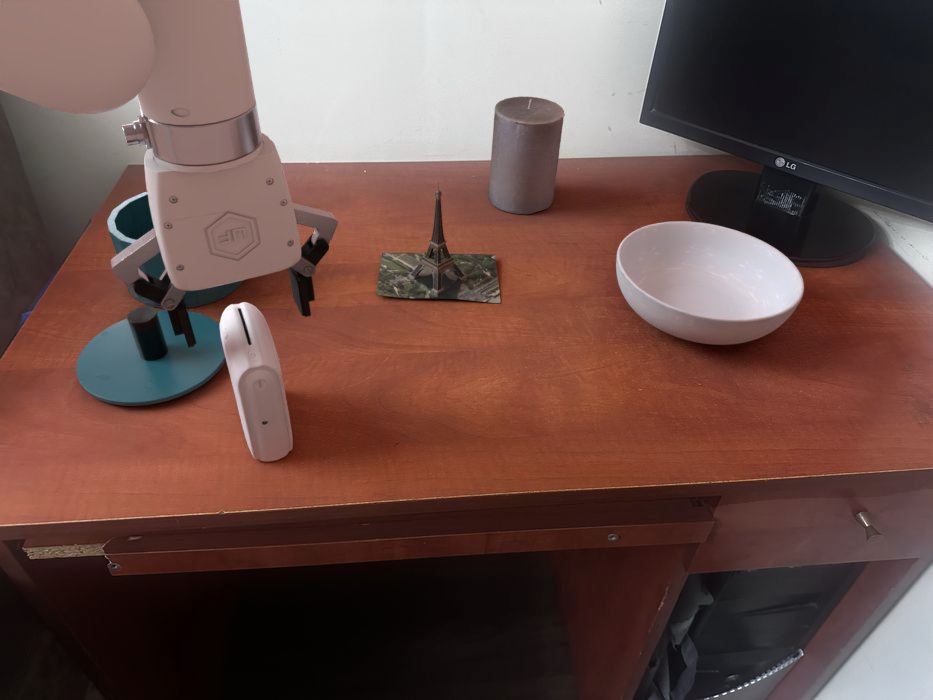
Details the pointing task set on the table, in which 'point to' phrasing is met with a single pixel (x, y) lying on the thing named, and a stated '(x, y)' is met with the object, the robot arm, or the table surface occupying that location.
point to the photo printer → (256, 381)
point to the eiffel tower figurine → (439, 271)
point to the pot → (135, 223)
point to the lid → (149, 359)
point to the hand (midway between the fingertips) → (247, 322)
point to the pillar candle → (525, 154)
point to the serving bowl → (707, 282)
